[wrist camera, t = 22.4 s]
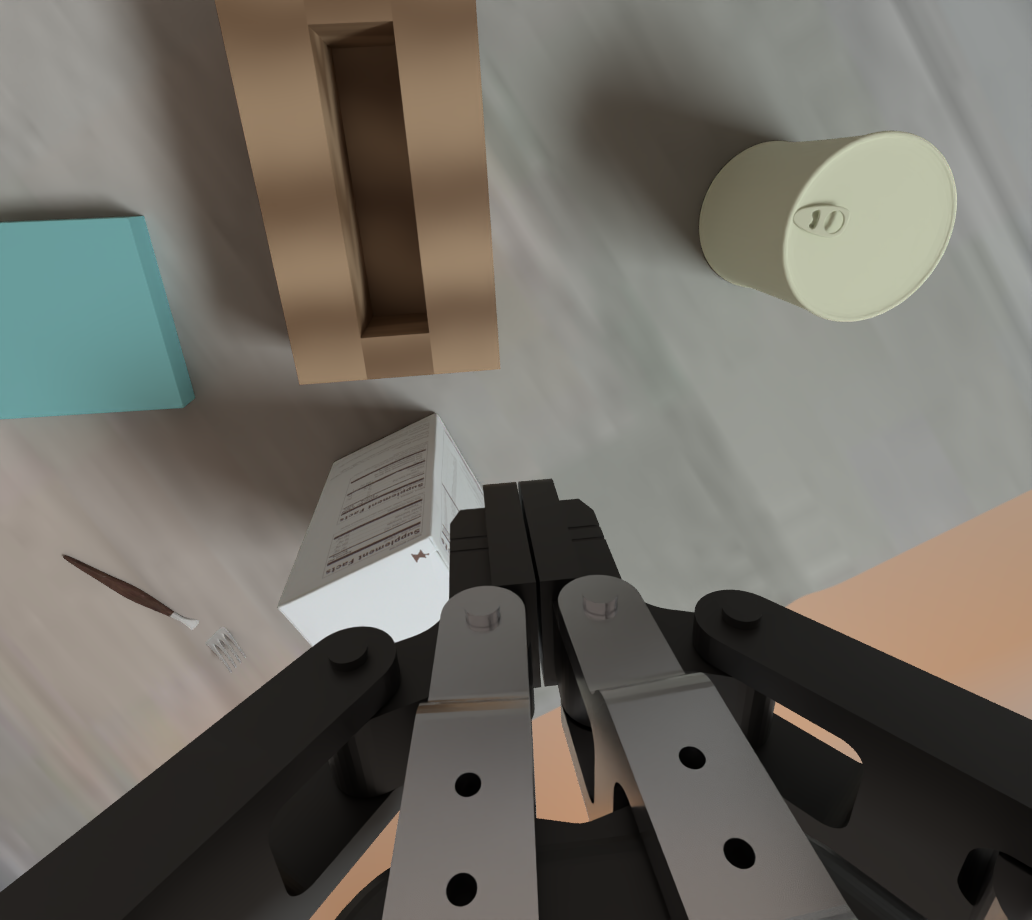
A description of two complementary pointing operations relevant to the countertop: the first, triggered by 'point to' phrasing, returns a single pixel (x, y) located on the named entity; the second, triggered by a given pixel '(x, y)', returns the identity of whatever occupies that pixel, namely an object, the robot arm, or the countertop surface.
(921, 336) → the countertop surface
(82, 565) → the fork
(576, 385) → the countertop surface
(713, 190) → the can
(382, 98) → the slot box
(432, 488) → the supplement box
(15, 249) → the cover plate
